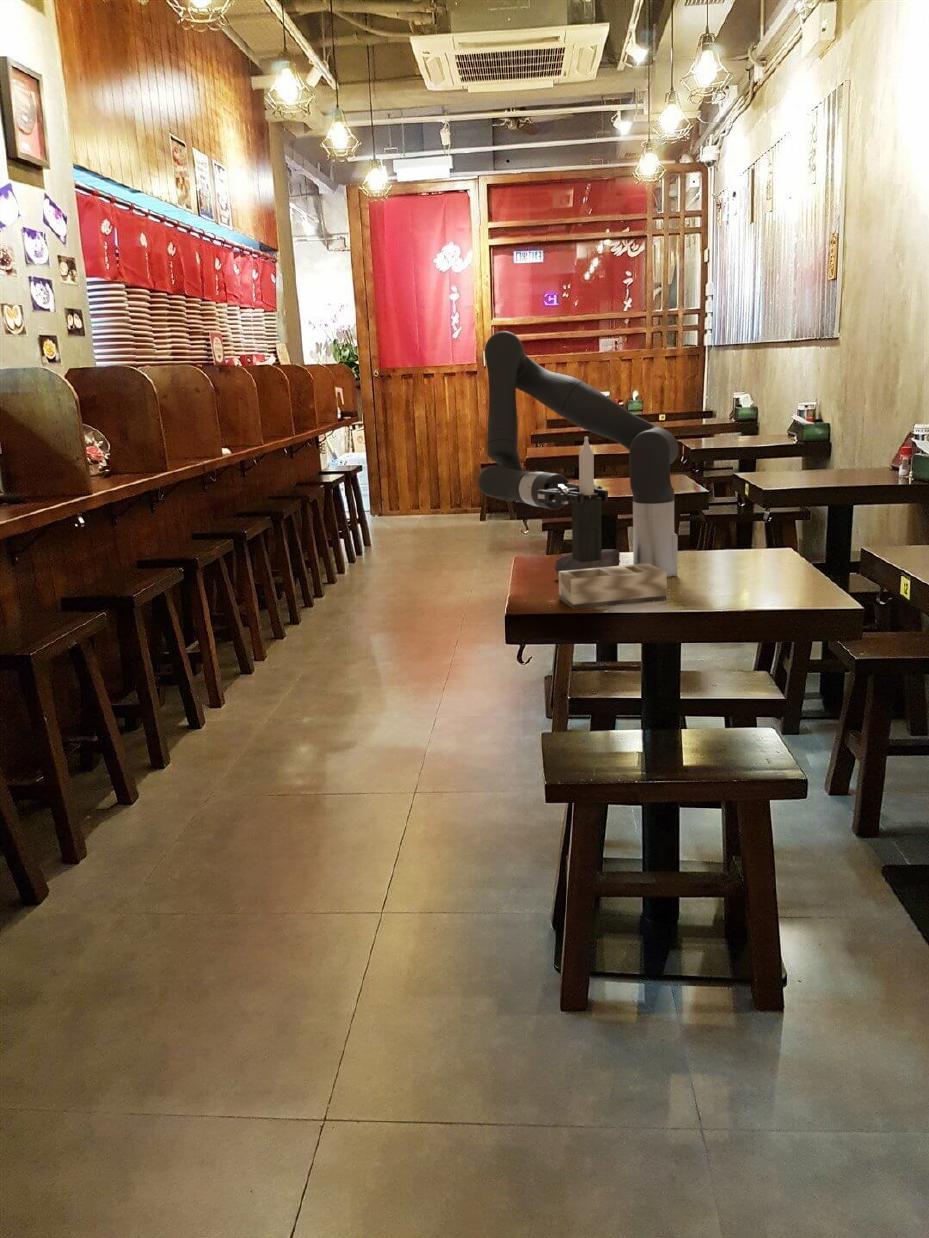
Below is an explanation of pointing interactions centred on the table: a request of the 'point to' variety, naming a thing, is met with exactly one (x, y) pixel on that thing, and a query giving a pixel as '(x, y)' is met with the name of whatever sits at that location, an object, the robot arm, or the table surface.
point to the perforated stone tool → (607, 560)
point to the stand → (612, 585)
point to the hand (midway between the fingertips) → (594, 497)
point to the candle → (586, 512)
